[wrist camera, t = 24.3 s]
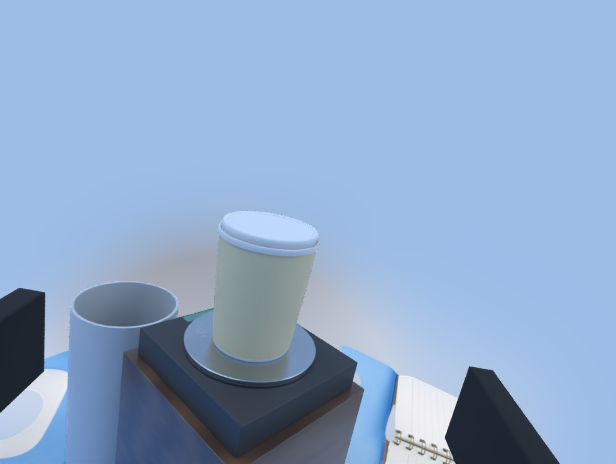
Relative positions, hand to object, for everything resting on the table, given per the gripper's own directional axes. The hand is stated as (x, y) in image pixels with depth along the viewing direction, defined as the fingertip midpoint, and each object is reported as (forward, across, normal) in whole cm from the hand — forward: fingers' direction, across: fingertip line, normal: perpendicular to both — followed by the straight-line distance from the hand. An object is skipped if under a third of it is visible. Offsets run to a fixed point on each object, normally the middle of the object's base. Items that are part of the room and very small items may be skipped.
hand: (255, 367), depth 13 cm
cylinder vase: (+36, -18, -44) cm, 60 cm away
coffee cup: (+25, -2, -14) cm, 29 cm away
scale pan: (+25, -1, -15) cm, 29 cm away
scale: (+25, -2, -18) cm, 31 cm away
